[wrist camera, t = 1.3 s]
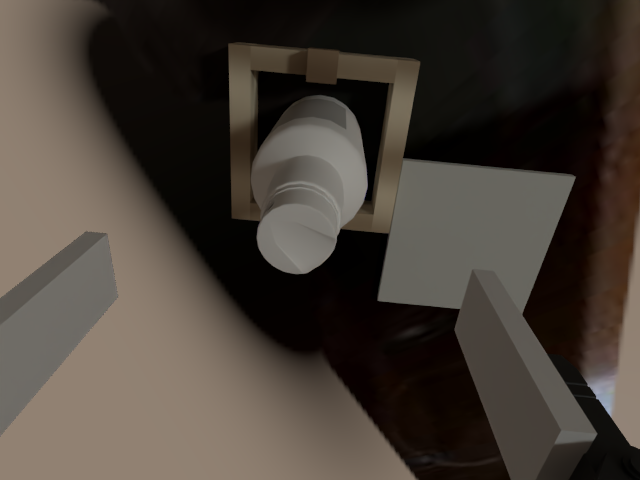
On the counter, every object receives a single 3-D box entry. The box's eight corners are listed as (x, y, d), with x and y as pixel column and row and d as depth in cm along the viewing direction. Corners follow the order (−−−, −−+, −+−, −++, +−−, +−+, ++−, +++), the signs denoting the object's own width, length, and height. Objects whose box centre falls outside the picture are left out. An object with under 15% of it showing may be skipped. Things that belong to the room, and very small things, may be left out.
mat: (402, 158, 34) (403, 160, 33) (572, 174, 34) (575, 177, 33) (377, 297, 40) (377, 300, 40) (519, 311, 40) (521, 314, 40)
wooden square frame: (238, 38, 30) (222, 40, 26) (414, 55, 30) (424, 59, 26) (239, 206, 36) (227, 228, 32) (385, 220, 36) (390, 244, 32)
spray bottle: (310, 74, 31) (277, 125, 15) (378, 131, 33) (411, 230, 17) (260, 144, 34) (187, 250, 18) (325, 193, 35) (310, 329, 20)
